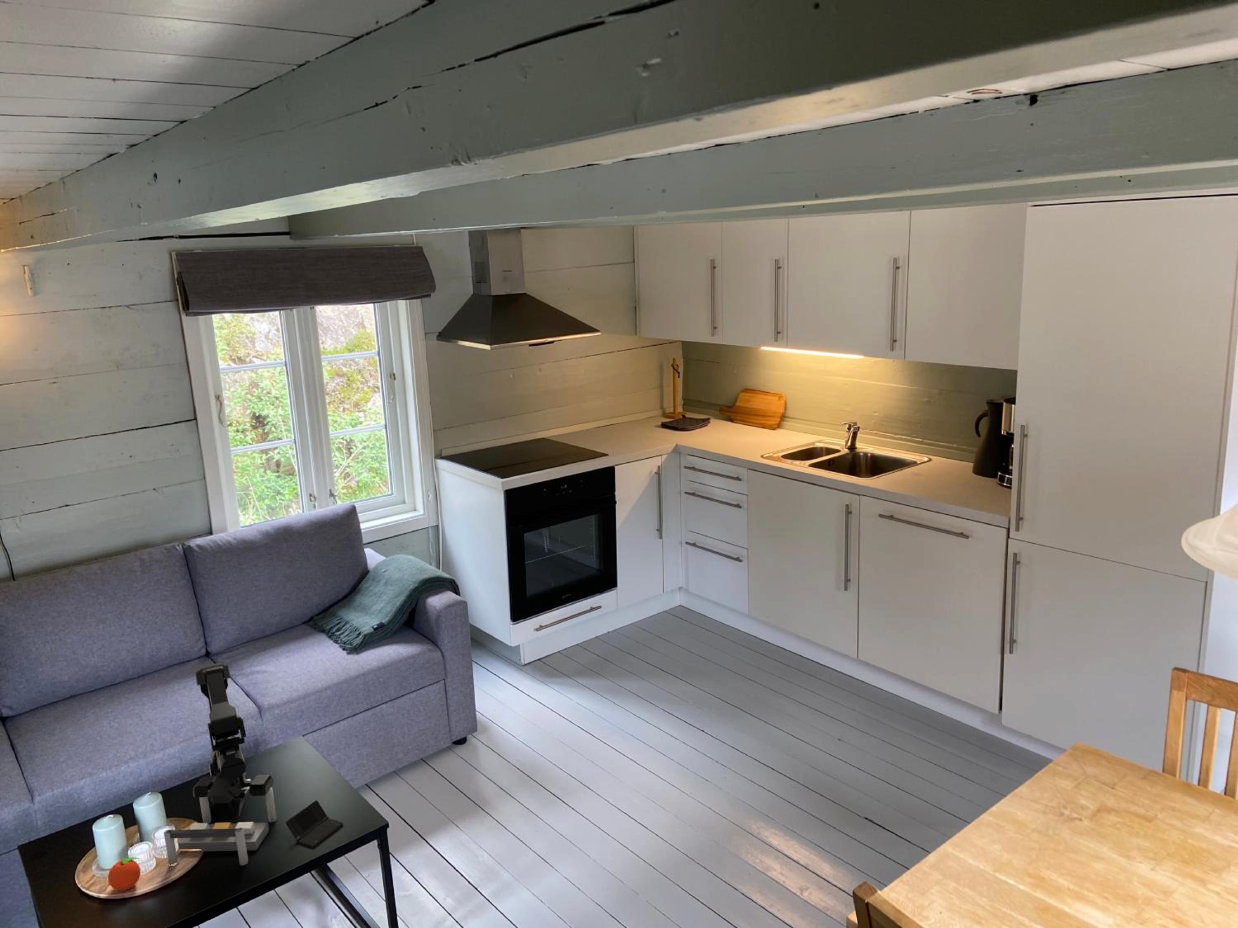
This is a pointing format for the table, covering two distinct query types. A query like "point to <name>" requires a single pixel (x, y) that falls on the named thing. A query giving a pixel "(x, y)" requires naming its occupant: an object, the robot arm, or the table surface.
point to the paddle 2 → (246, 827)
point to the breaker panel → (226, 840)
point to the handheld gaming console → (312, 825)
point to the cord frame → (216, 830)
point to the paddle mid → (222, 826)
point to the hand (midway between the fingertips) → (237, 815)
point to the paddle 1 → (200, 826)
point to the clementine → (124, 874)
